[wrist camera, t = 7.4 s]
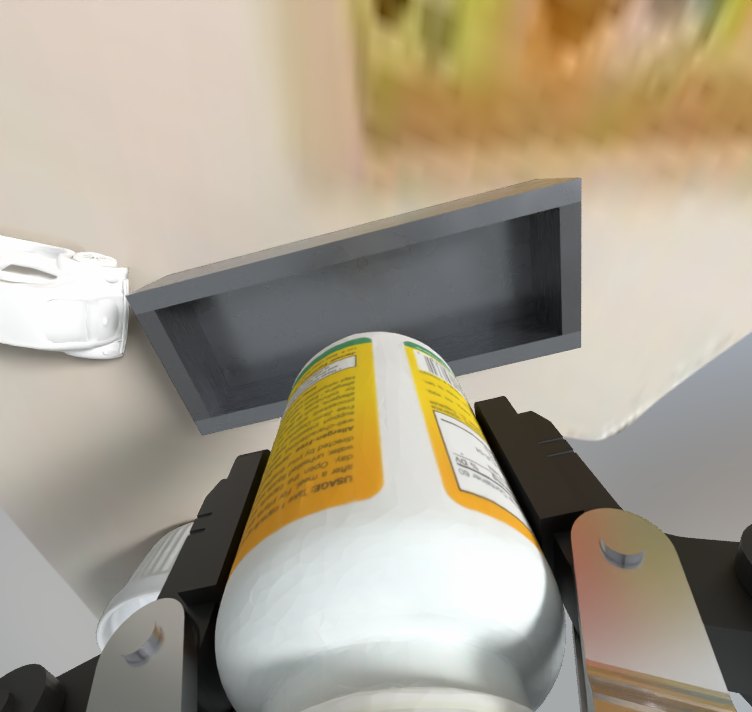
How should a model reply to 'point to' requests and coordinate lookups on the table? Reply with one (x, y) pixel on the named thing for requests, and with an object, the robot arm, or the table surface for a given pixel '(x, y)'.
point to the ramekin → (142, 583)
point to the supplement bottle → (386, 553)
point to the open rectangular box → (373, 298)
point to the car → (62, 300)
